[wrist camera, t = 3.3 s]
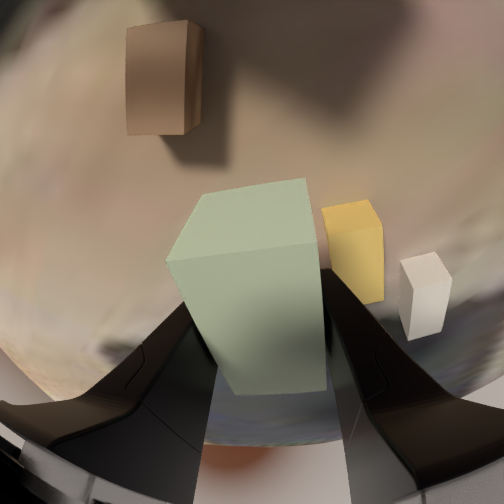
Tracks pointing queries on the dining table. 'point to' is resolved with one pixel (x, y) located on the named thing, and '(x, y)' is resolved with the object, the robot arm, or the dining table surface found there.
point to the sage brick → (256, 286)
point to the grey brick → (423, 295)
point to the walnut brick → (164, 78)
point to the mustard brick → (356, 248)
